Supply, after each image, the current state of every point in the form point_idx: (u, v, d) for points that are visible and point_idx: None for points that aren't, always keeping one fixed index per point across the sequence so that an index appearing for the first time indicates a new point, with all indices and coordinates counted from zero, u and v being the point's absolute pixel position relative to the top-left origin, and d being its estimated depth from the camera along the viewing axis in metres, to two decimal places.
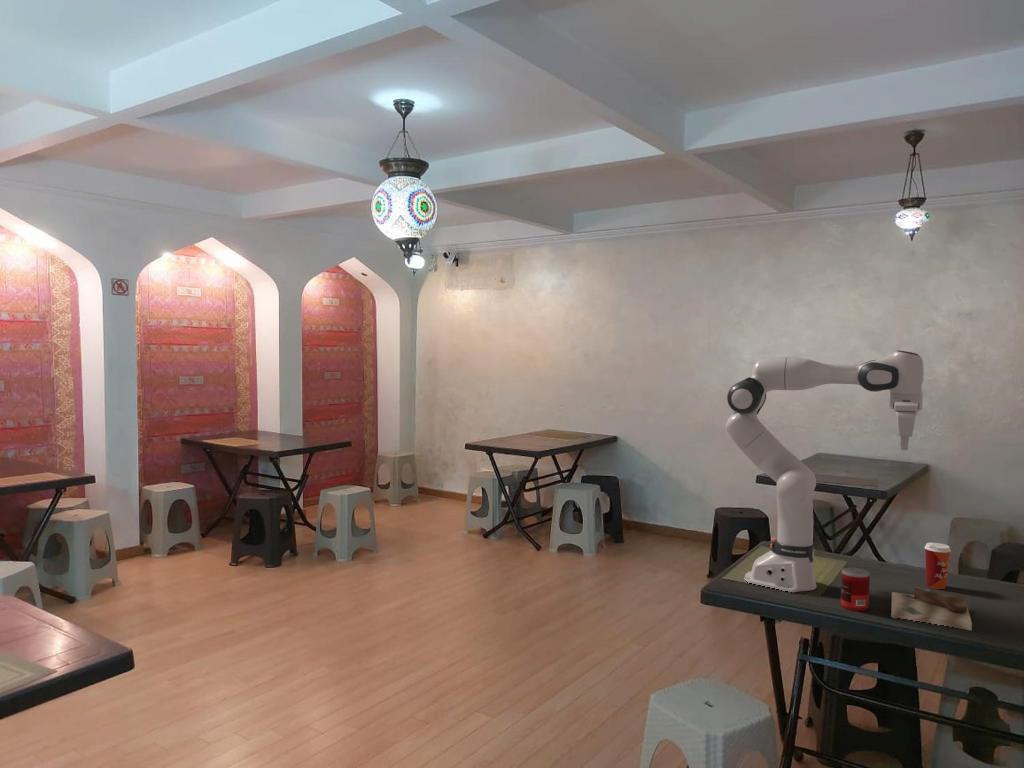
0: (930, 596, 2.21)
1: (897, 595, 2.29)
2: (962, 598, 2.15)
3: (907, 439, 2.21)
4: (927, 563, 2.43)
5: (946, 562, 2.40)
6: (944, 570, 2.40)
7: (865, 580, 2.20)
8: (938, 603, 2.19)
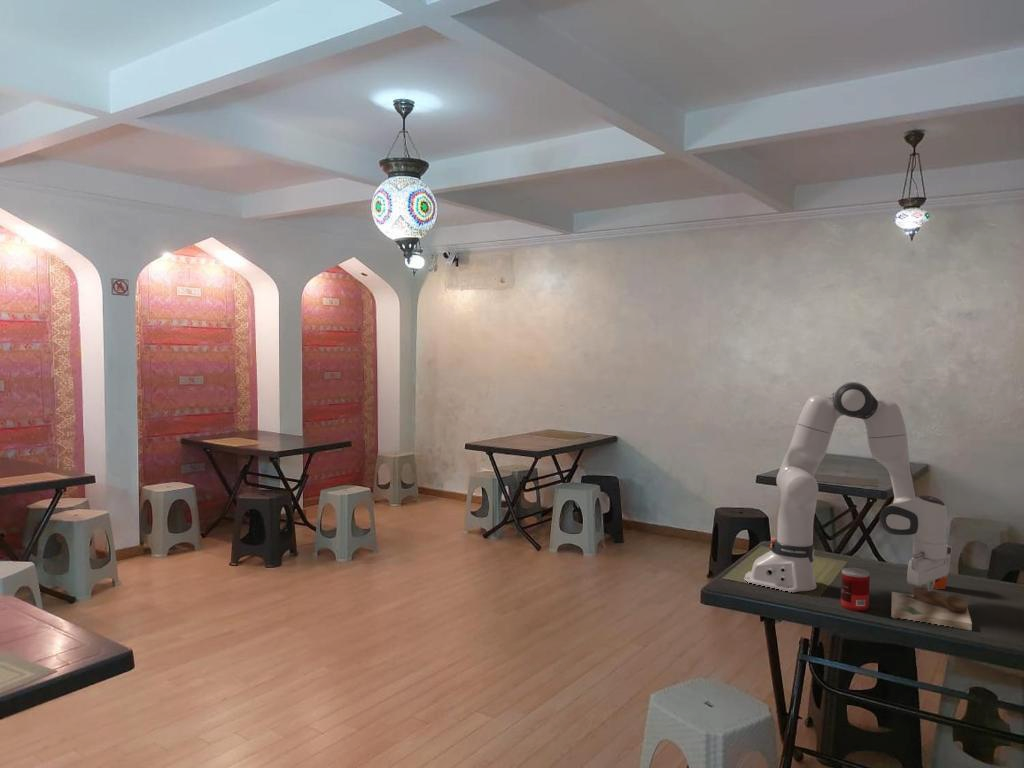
0: (929, 596, 2.21)
1: (897, 595, 2.29)
2: (962, 598, 2.15)
3: None
4: None
5: None
6: None
7: (865, 580, 2.20)
8: (938, 603, 2.19)
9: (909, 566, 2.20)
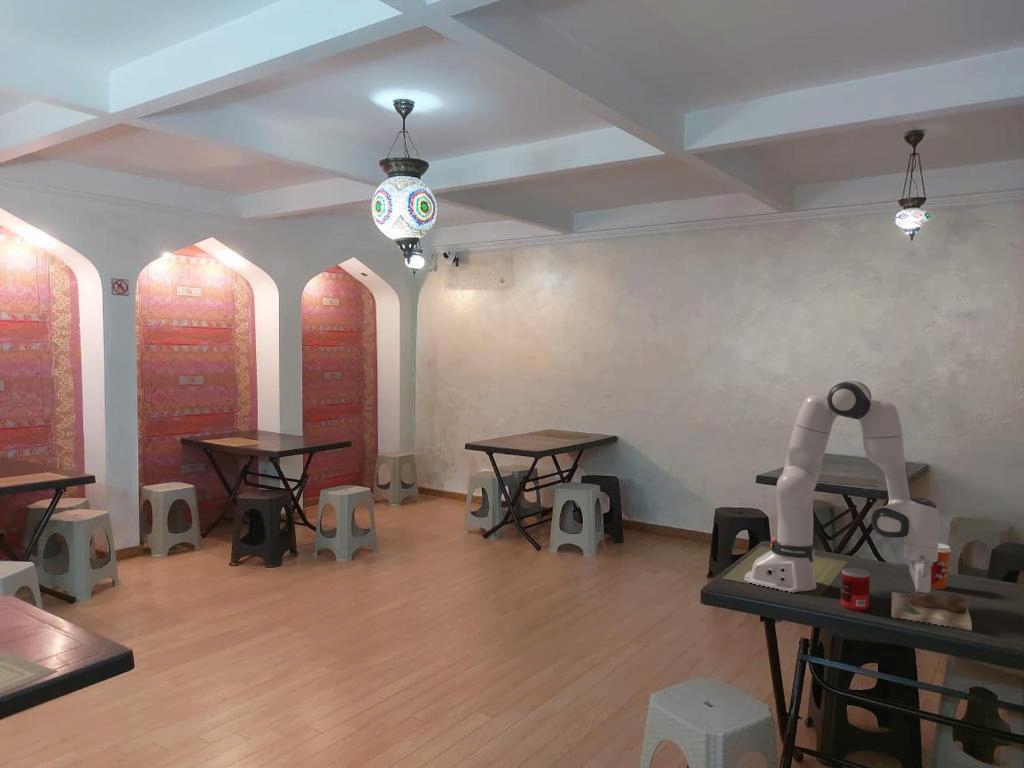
0: (929, 600, 2.18)
1: (897, 595, 2.29)
2: (962, 597, 2.15)
3: None
4: None
5: (946, 562, 2.40)
6: (944, 570, 2.40)
7: (865, 580, 2.20)
8: (938, 606, 2.17)
9: (919, 573, 2.13)
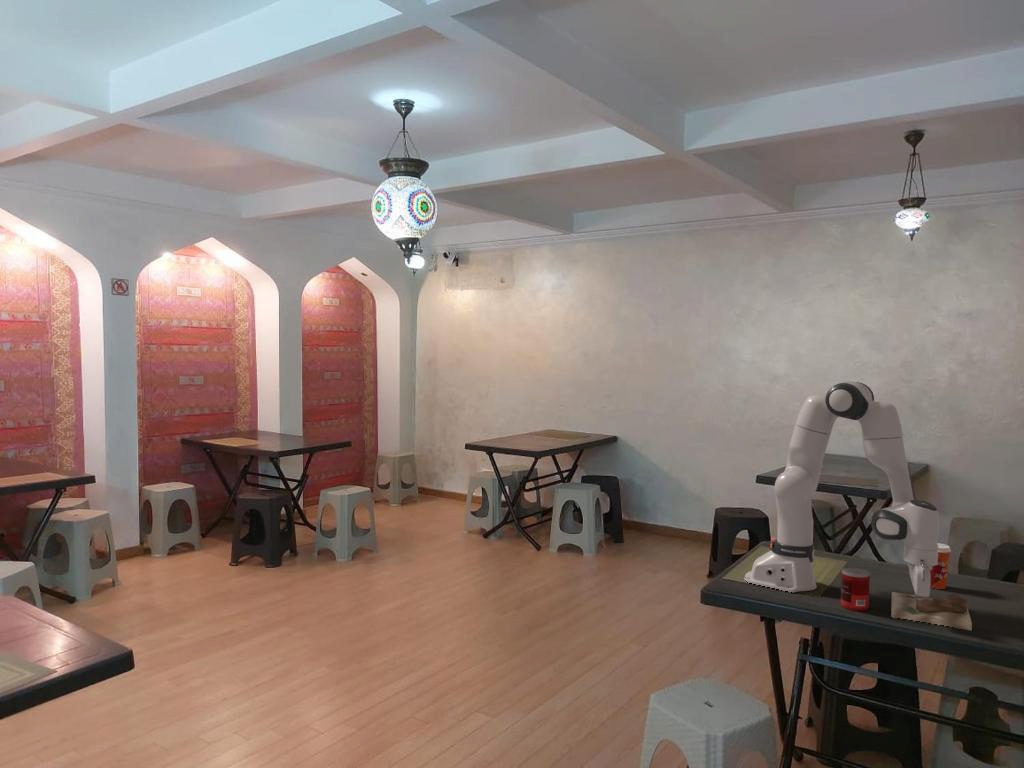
0: (936, 605, 2.14)
1: (897, 595, 2.29)
2: (960, 596, 2.16)
3: None
4: None
5: (946, 562, 2.40)
6: (944, 570, 2.40)
7: (865, 580, 2.20)
8: (943, 609, 2.14)
9: (918, 577, 2.10)
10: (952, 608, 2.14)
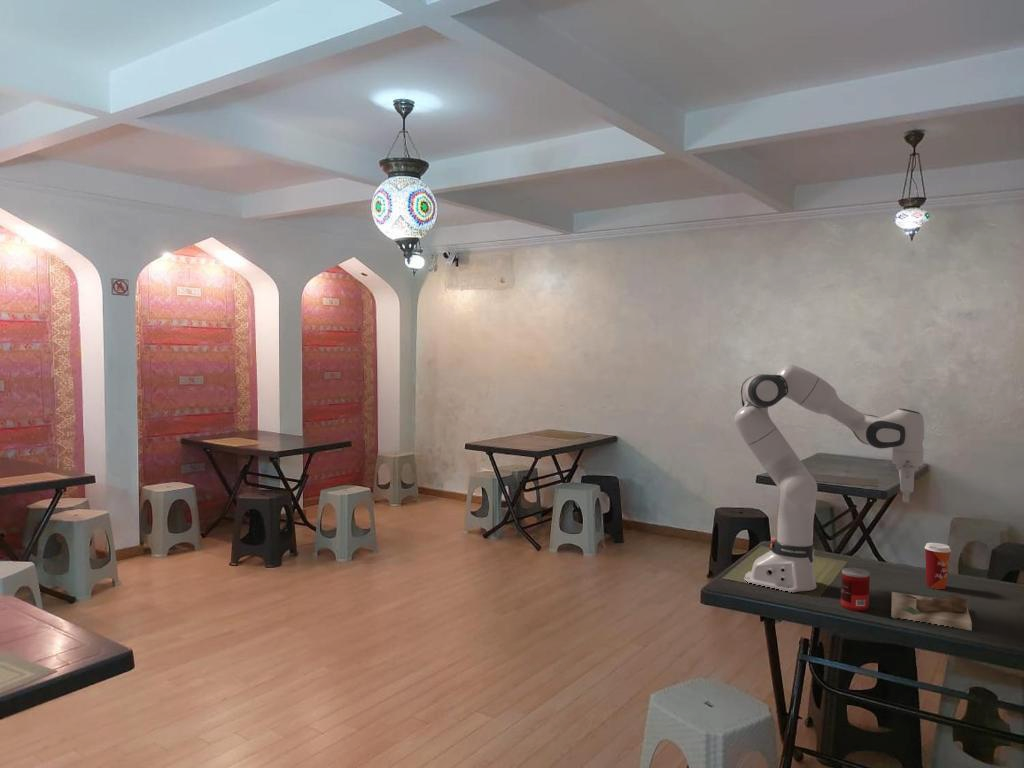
0: (936, 605, 2.14)
1: (897, 595, 2.29)
2: (960, 596, 2.16)
3: None
4: (927, 563, 2.43)
5: (946, 562, 2.40)
6: (944, 570, 2.40)
7: (865, 580, 2.20)
8: (943, 609, 2.14)
9: (903, 474, 2.30)
10: (952, 608, 2.14)
